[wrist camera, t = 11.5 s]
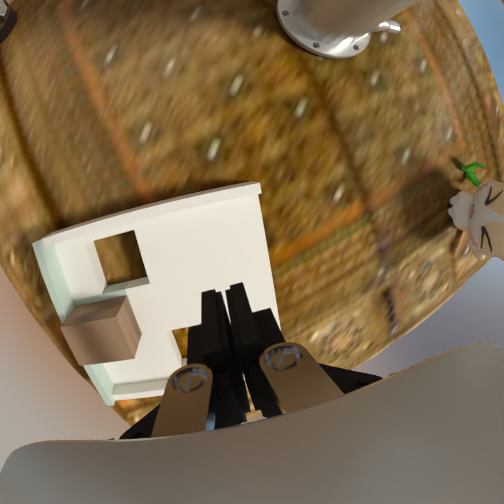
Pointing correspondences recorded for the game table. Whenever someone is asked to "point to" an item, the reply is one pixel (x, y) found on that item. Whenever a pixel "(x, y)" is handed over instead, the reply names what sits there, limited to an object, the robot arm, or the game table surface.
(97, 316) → the walnut block
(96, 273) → the board
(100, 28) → the game table surface
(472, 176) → the kitten
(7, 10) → the coffee mug
